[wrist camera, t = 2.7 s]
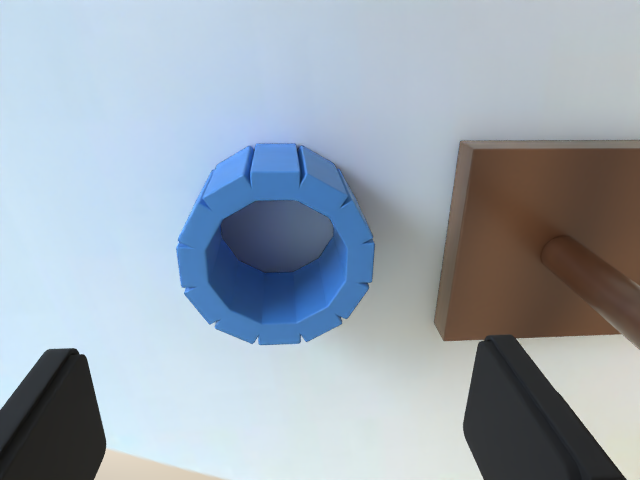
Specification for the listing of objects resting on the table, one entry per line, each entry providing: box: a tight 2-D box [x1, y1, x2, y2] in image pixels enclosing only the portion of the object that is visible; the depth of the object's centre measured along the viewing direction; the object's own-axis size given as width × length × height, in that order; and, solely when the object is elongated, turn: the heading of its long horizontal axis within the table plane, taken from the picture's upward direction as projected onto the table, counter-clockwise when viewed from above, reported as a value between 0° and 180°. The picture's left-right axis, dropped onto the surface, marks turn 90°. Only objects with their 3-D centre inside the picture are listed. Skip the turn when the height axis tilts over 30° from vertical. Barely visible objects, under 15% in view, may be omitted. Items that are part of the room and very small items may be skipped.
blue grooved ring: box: [176, 144, 375, 345], centre depth 18 cm, size 7×7×4 cm
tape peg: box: [434, 140, 640, 350], centre depth 16 cm, size 9×9×12 cm
